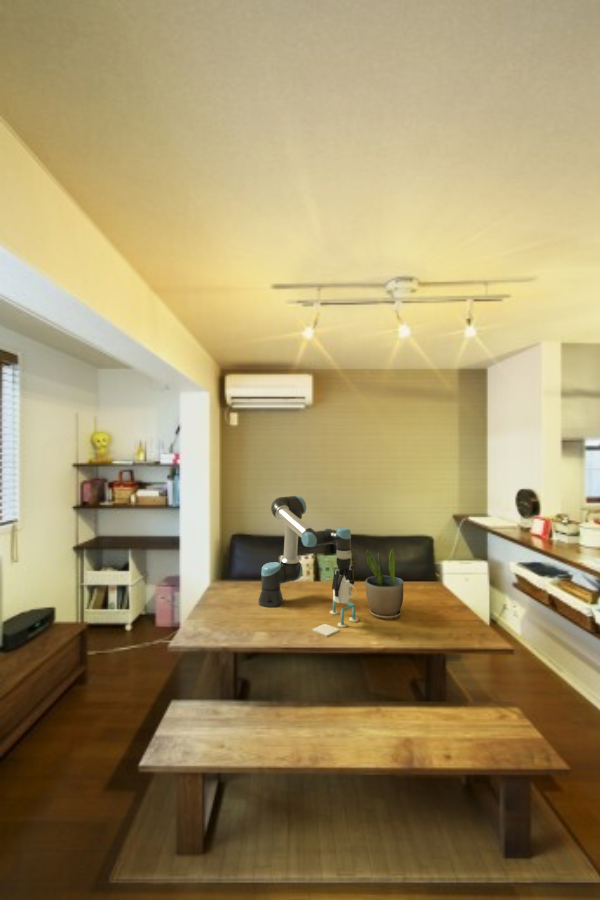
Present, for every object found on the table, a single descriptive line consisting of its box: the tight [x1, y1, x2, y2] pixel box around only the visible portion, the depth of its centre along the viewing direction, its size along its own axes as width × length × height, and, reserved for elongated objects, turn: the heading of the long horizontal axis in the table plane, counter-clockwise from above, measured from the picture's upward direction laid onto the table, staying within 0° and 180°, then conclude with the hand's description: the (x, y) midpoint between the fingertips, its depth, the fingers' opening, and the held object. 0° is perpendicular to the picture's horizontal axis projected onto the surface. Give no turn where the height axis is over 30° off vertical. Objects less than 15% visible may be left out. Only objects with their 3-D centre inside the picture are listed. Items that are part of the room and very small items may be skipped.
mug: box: [332, 577, 357, 604], centre depth 217 cm, size 9×12×11 cm
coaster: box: [311, 623, 340, 638], centre depth 209 cm, size 10×10×1 cm
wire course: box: [329, 599, 359, 629], centre depth 224 cm, size 19×15×9 cm
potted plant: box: [365, 548, 404, 620], centre depth 231 cm, size 21×22×40 cm
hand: (343, 600), depth 216 cm, fingers closed on mug, 9 cm apart
